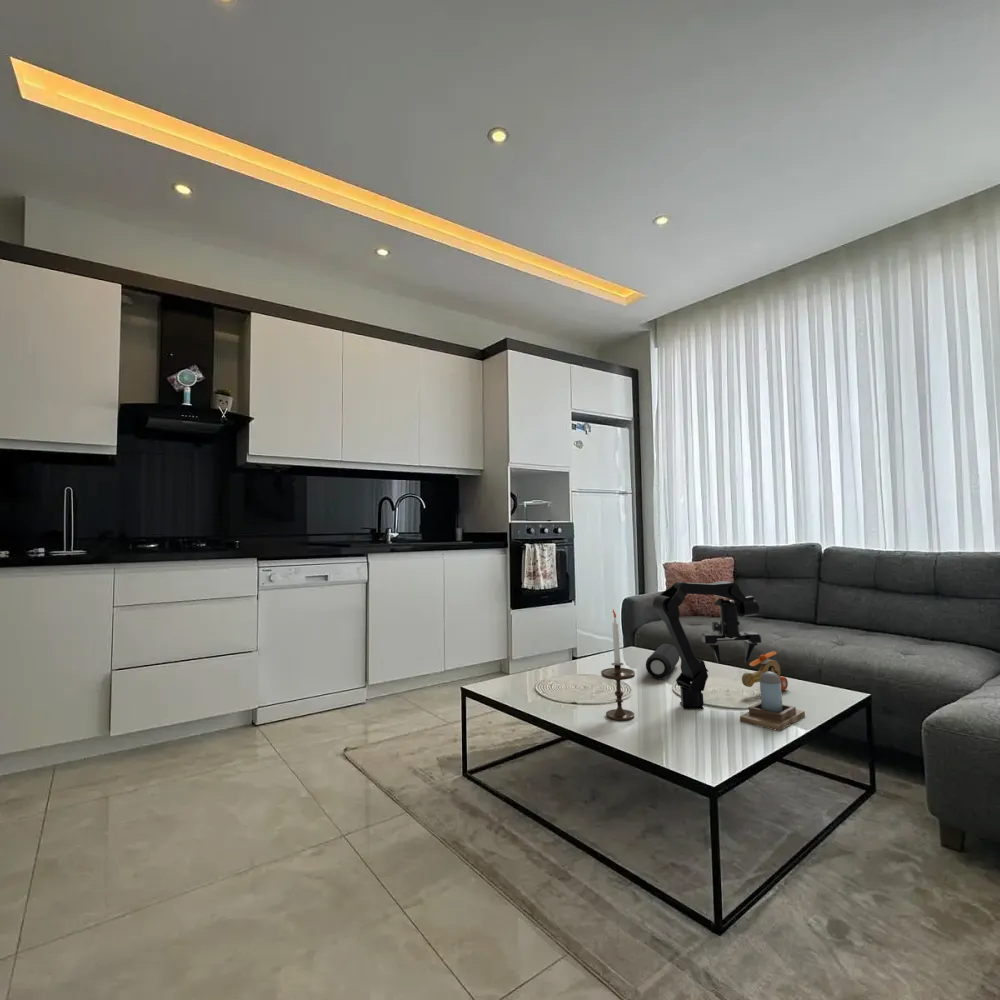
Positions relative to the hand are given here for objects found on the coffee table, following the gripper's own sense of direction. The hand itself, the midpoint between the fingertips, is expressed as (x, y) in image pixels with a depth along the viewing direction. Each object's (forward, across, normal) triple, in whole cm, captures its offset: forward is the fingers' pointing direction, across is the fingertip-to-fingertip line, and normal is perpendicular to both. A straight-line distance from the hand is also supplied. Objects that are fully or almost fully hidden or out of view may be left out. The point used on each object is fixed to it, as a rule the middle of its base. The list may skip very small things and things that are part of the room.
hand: (732, 662), depth 194 cm
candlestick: (+13, +41, +15) cm, 46 cm away
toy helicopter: (+13, -14, -10) cm, 22 cm away
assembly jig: (+13, -6, +18) cm, 23 cm away
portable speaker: (+13, +17, -38) cm, 44 cm away
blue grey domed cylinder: (+12, -6, +18) cm, 22 cm away
